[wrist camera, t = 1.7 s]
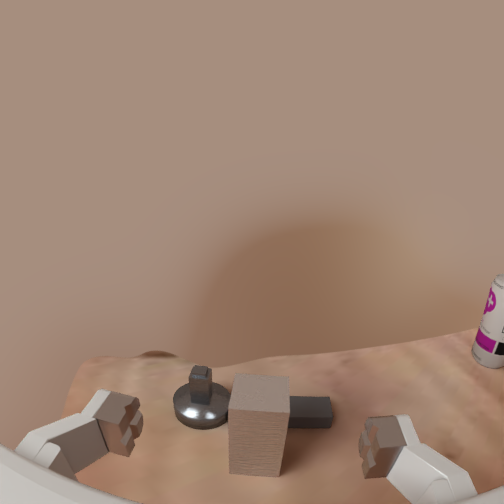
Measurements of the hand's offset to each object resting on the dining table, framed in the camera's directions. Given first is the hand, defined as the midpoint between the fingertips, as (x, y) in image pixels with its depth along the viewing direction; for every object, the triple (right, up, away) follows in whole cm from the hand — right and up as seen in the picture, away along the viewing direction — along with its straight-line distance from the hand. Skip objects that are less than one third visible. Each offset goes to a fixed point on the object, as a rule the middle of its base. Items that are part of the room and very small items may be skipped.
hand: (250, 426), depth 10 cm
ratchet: (0, -14, +26) cm, 29 cm away
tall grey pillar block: (0, -16, +19) cm, 25 cm away
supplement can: (+43, -13, +34) cm, 56 cm away
